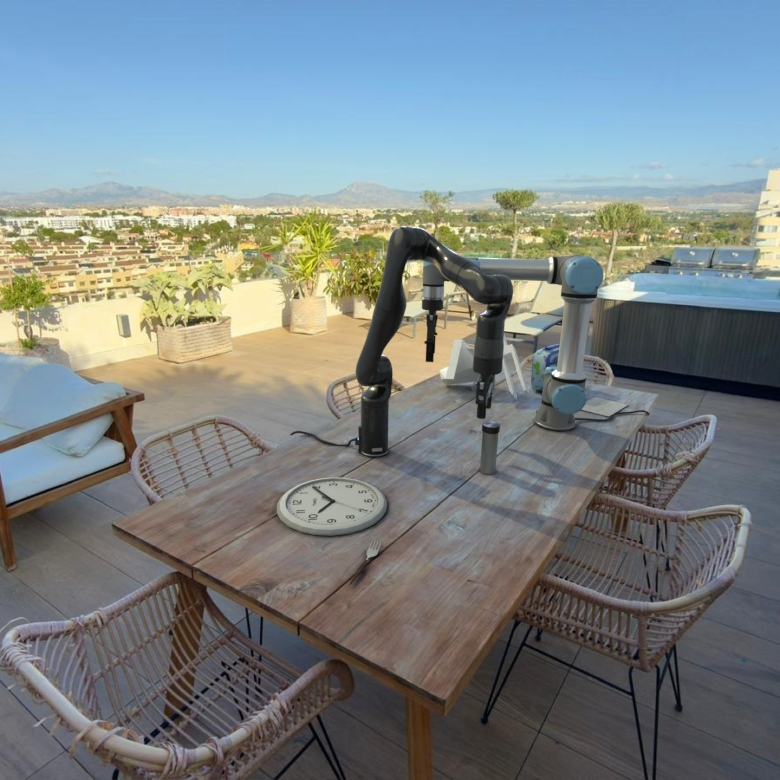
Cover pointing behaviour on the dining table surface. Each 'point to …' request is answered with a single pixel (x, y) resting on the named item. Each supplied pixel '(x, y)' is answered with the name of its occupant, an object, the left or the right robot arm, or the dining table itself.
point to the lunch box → (543, 364)
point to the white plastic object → (463, 366)
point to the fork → (370, 554)
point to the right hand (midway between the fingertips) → (430, 357)
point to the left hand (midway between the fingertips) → (483, 413)
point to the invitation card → (603, 406)
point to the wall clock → (331, 506)
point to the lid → (490, 427)
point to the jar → (488, 453)
